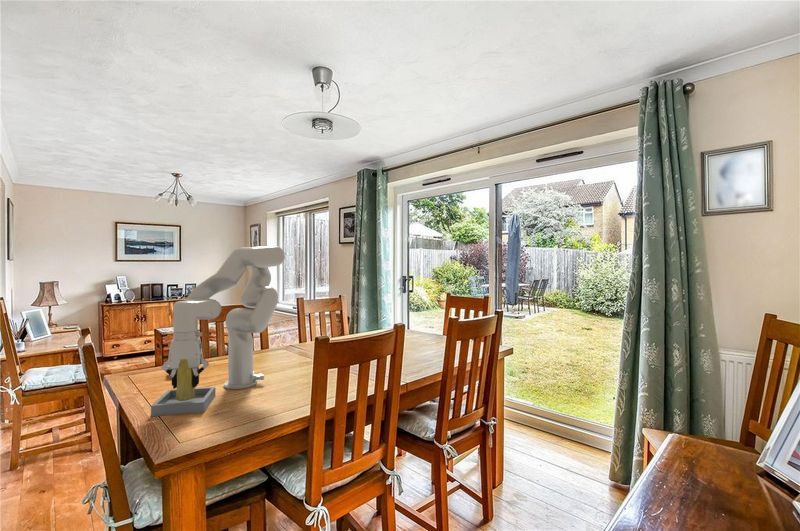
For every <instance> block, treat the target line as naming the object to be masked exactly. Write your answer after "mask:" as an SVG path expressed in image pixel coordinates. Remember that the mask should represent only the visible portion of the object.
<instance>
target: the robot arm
mask: <svg viewBox="0 0 800 531" xmlns="http://www.w3.org/2000/svg"><path fill="white" fill-rule="evenodd" d="M285 259H286V255H285V251H284V249H283V248H281V247H280V246H278V245H277V246H276V245H275V246H274V245H273V246H272V245H268V246H267V245H265V246H264V245H261V246H260V245H259V246H252V247H251V246H249V247H248V246H244V247H237V248H235V249H234V250H233V251H232V252H231V253H230V254H229V256H228V257H227V258H226V260H225V261H224V262H223V264H221V266H220V268H219V269H218V270H217V272H215V273H214V274H213V275H211V276H209V277H208V278H207V279H205V280H204V281H202V282H201V283H199V284H198V285H196V287H195V288H194V289H193V290H192V291H191V292H190V293H189V295H188V296H187V297H186V299H185V300H179V301H176V302H174V304H173V324H172V326H173V330H172V331H173V333H172V334H173V338H172V339H171V341H170V346H169V350H168V359H167V360H166V361H165V362H164V363H163V365H161V366H160V368H161V369H162V370H163V371H165V372H166V373H167V374H168V375H169V376H170V378H171V386H172V389H177V369H178V368H179V363H180V360H181V359H187V361H188V368H192V370H193V372H194V376H193V387H194V388H197V386H198V385H199V384H200V374H201V373H202V372H203V371H204V370H205V369H206V368H208V367H209V366H210V363H209V362H208V360H206V359H205V358H204V356H203V355H204V354H203V346H202V341H201V340H202V339H201V338H199V337H203V332H202V331H201V332H200V331H199V330H198V329H199V320H213V319H216V318H218V317H219V316H220V314H221V312H222V305H221V303H220V302H219V300H216V299H213V298H212V297H213V296H215V295H216V294H219V293H220V292H223V291H226V290H229V289H231V288H233V287H235V286H236V285H237V284H238V283H239V281H240V280H241V278H242V277H243V275H244V274H245V273H246V271H247V270H248V269H251V274H250V277H249V280H248V281H247V283H246V286H245V287H244V289H243V292H242V293H241V295H240V303H241V304H242V306H244V307H245V308H243V307H237V308H233V309H231V310H230V311H229V312H228V313H227V315H226V316H225V317H226V318H225V326H226V332H227V338H228V340H227V342H228V343H227V344H228V345H227V346H228V348H227V349H228V352H227V353H228V354H227V355H228V359H227V360H228V365H227V366H228V371H227V374H228V375H227V376H228V377H227V379H228V380H226V381H225V382H224V384H223V387H224V388H226V389H227V390H242V389H243V390H244V389H248V388H251V387H255V386H256V385H257V384H258V380H259V381H264V380H265V375H264V374H262V373H259V374H257V373H256V371H255V370H254V338H253V335H252V334H259V333H260V334H261V333H263V332H265V330H266V329H267V326H268V325H269V323H270V321H271V319H272V317H273V314H274V312H275V310H276V308H277V304H278V303H279V302H278V301H279V294H278V291H277V290H276V289H275V288H274V287H272V286H270V284H271V281H272V274H271V271H270V269H269V268H273V267H278V266H280V265H282V264H283V263H284V261H285ZM201 365H202V366H201ZM200 366H201V367H200ZM172 369H173V370H172Z"/></svg>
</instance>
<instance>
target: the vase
mask: <svg viewBox="0 0 800 531" xmlns="http://www.w3.org/2000/svg"><path fill="white" fill-rule="evenodd" d="M193 376H194V372H193V370H192V368H188V361H187V359H181V360H180V363H179V368H178V369H177V387H176V389H177V391H176V398H175V399H176V400H178V401H184V400H190V399H192V398H194V397H195V388H196V387H195V388H194V387H193Z"/></svg>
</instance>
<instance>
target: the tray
mask: <svg viewBox="0 0 800 531" xmlns="http://www.w3.org/2000/svg"><path fill="white" fill-rule="evenodd" d="M176 391H177V388H175V389H173V388H172V389H168V390H167V391H166V392H164V393H163V394H162V395H161V396H160V397H159V398H157V400H156V401H155V402H153V403H152V404H151V406H150V417H163V416H172V415H173V416H174V415H175V416H176V415H189V414H201V413H202V414H204V413H205V412H206V410H207V409H208V407H209V406H210V405H211V403H212V402H213V400H214V399H215V397H216V386H210V387H209V386H208V387H205V386H204V387H195V397H194V398H192V399H190V400H184V401H178V400H176V399H175V398H176Z"/></svg>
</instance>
